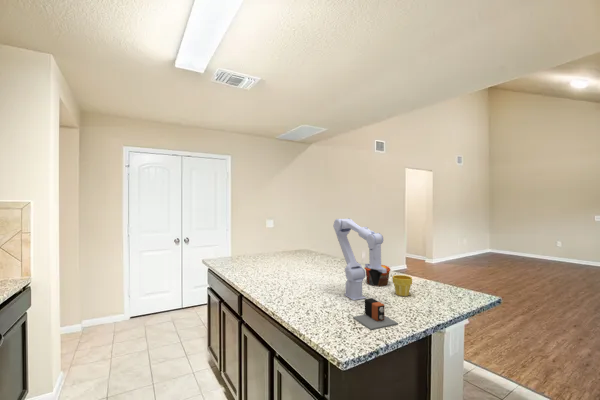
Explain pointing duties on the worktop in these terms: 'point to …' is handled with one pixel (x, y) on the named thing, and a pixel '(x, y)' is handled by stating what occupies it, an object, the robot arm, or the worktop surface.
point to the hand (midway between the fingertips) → (375, 284)
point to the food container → (383, 278)
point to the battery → (374, 309)
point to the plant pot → (402, 284)
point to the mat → (374, 322)
